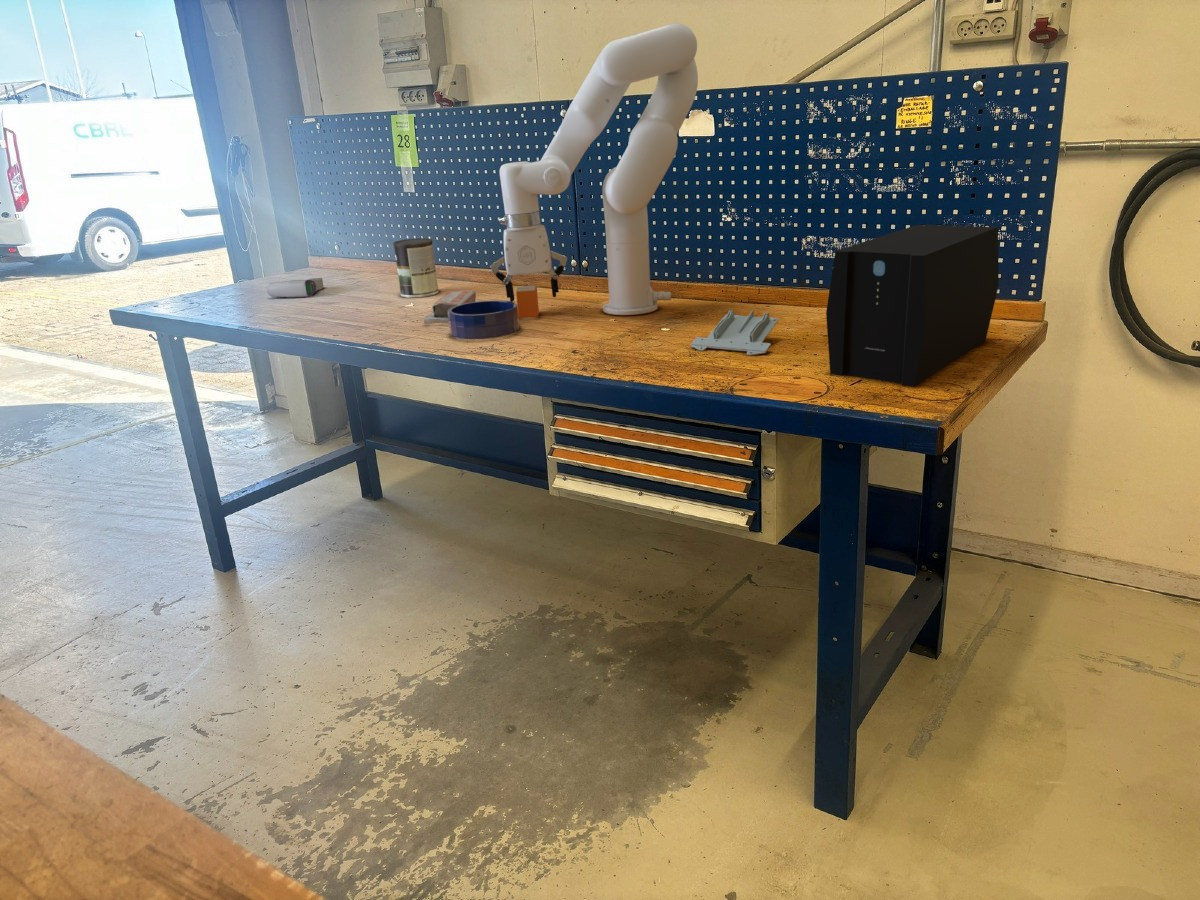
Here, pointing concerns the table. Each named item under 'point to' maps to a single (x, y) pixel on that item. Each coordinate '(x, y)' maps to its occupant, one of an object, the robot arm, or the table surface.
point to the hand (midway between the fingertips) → (533, 298)
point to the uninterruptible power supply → (911, 301)
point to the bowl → (483, 319)
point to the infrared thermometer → (295, 288)
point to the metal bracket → (739, 334)
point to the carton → (527, 301)
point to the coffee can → (416, 267)
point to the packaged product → (449, 305)
